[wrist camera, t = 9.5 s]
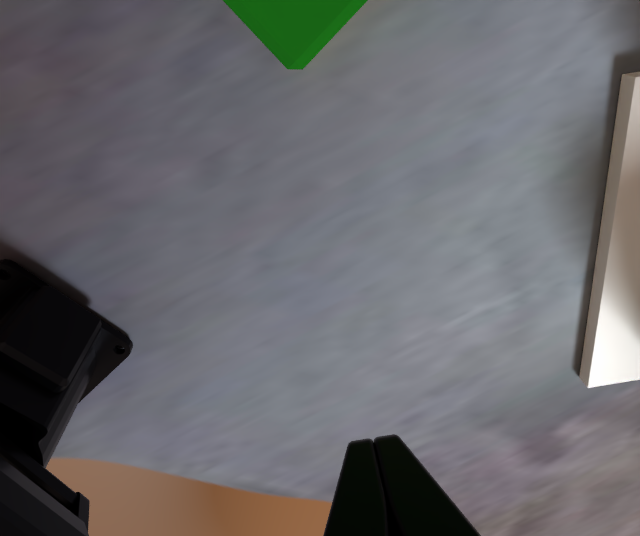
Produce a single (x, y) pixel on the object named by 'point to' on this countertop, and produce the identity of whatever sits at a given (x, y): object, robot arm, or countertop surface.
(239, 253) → the countertop surface
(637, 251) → the button console
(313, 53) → the dish sponge
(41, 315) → the robot arm
